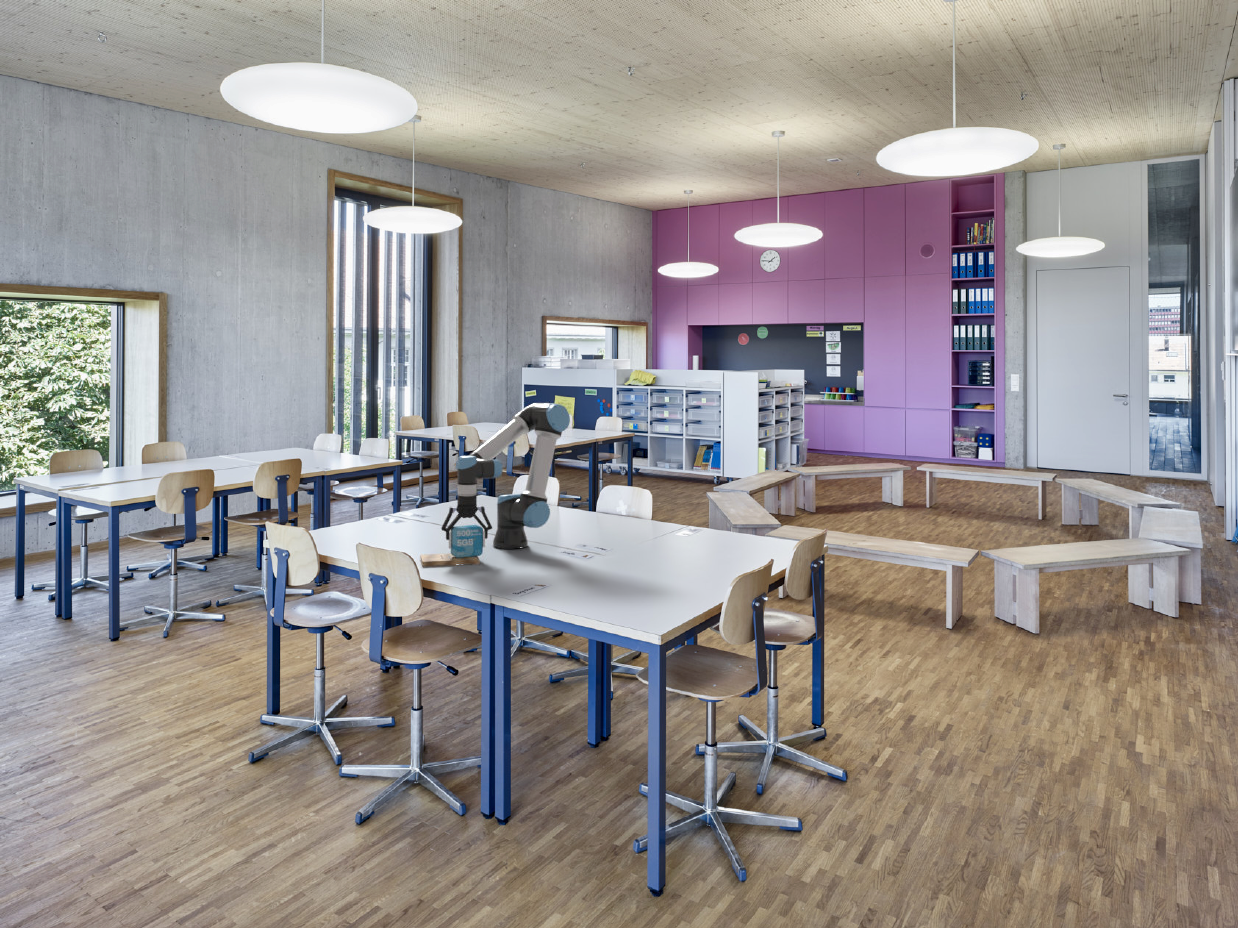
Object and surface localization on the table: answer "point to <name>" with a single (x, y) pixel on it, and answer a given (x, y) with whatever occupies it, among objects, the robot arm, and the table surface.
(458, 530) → the data package
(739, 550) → the table surface
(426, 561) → the oak board
